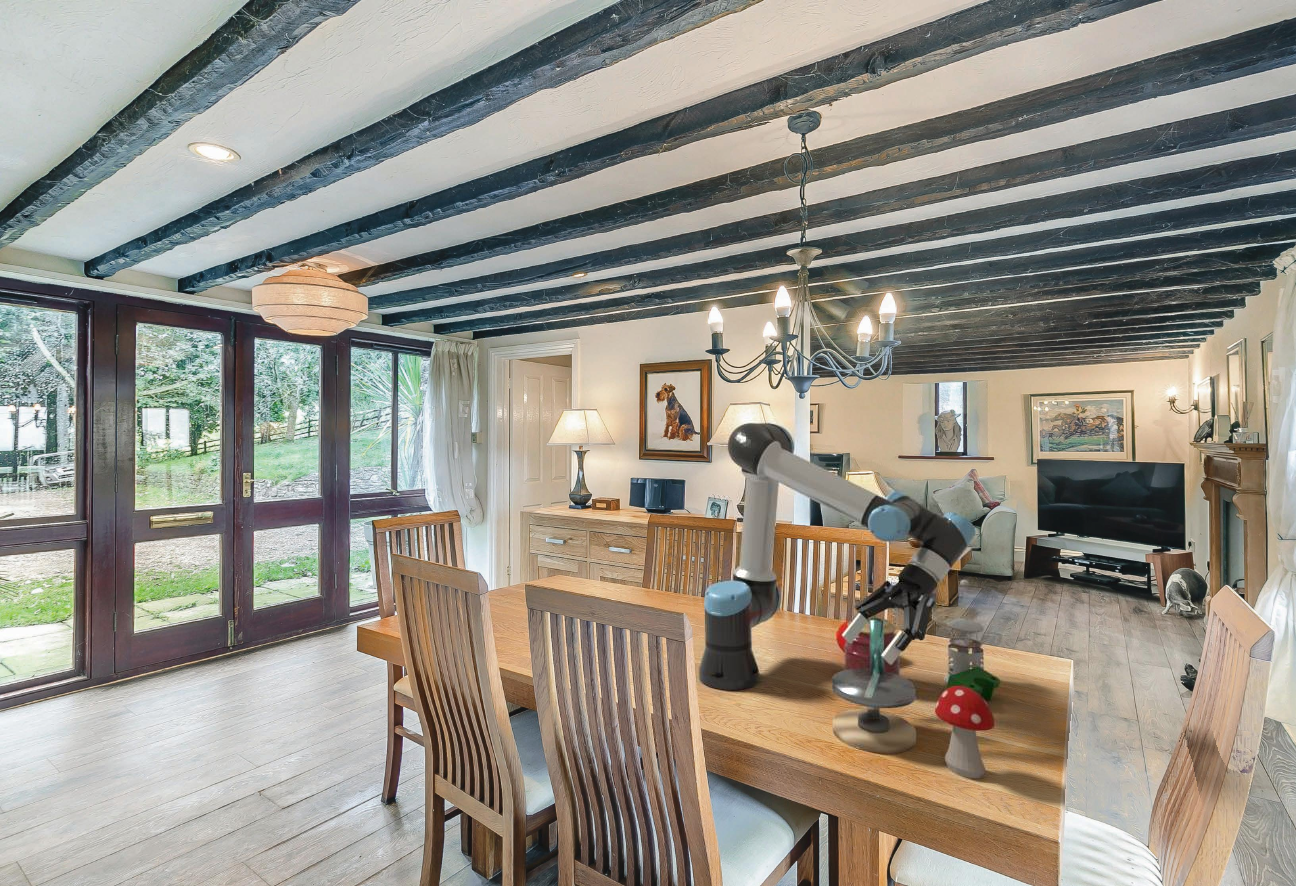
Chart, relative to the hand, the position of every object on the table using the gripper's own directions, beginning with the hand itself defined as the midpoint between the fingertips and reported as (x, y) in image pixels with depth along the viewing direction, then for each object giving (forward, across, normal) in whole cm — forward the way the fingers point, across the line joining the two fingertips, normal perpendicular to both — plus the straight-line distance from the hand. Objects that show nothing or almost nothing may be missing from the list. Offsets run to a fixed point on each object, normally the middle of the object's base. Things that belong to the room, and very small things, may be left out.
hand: (865, 649), depth 131 cm
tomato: (-4, +33, -26) cm, 42 cm away
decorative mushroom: (+8, -22, -14) cm, 27 cm away
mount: (+12, -5, -9) cm, 16 cm away
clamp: (-10, +1, -32) cm, 33 cm away
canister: (+1, +17, -21) cm, 27 cm away
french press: (-15, +11, -37) cm, 41 cm away
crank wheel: (+10, -5, -7) cm, 13 cm away
